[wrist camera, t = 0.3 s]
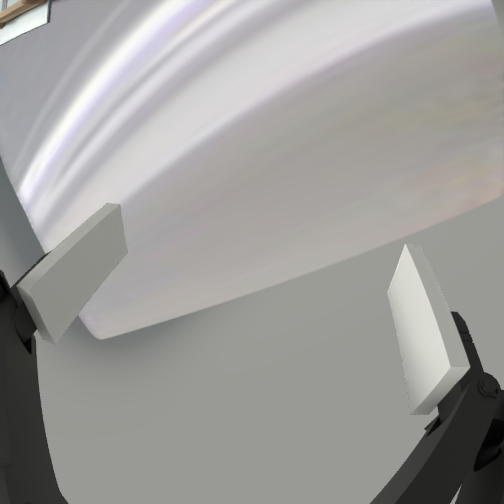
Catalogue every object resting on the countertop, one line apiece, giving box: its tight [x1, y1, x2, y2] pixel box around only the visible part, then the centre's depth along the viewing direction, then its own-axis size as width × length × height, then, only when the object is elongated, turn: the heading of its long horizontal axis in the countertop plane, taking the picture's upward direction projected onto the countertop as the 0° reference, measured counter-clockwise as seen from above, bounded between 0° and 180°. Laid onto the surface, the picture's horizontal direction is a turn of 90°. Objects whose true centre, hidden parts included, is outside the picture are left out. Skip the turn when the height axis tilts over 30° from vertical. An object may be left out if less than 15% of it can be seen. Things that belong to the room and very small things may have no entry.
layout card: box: [0, 0, 50, 45], centre depth 27 cm, size 18×28×1 cm, turn 87°
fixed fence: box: [0, 0, 47, 28], centre depth 26 cm, size 2×15×5 cm, turn 87°
